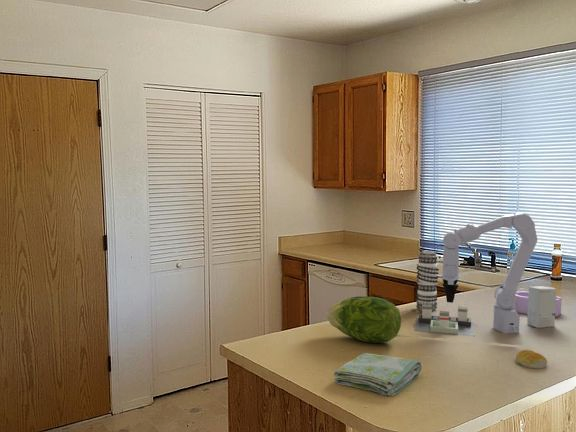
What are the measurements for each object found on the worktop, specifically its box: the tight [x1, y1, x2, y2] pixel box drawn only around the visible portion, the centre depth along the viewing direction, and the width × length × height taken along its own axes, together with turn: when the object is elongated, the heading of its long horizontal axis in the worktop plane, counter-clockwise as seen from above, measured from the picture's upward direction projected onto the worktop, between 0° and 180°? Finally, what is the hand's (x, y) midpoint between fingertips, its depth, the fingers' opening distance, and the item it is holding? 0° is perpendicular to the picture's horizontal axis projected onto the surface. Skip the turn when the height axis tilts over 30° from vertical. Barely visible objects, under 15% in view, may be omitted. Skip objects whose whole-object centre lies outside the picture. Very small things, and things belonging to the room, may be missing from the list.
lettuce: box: [326, 295, 402, 344], centre depth 191 cm, size 15×27×16 cm, turn 60°
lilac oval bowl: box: [514, 290, 562, 317], centre depth 233 cm, size 20×12×7 cm, turn 54°
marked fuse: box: [438, 310, 450, 328], centre depth 202 cm, size 4×4×6 cm
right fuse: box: [457, 306, 468, 321], centre depth 209 cm, size 3×3×6 cm
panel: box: [413, 314, 476, 337], centre depth 206 cm, size 19×21×3 cm
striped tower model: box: [415, 250, 440, 312], centre depth 232 cm, size 9×9×25 cm
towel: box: [333, 352, 422, 397], centre depth 155 cm, size 18×21×5 cm
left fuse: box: [421, 304, 433, 319], centre depth 212 cm, size 3×3×6 cm
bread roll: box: [514, 349, 548, 369], centre depth 169 cm, size 8×9×4 cm
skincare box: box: [526, 285, 557, 329], centre depth 210 cm, size 8×6×15 cm
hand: (449, 300), depth 208 cm, fingers open, 7 cm apart
